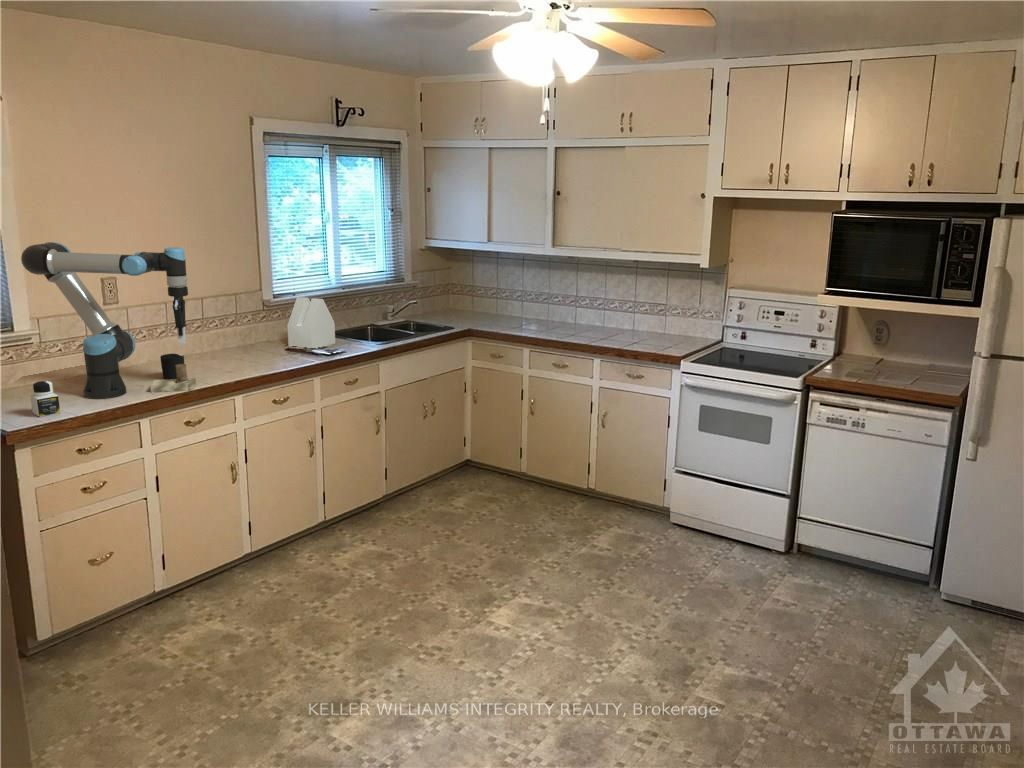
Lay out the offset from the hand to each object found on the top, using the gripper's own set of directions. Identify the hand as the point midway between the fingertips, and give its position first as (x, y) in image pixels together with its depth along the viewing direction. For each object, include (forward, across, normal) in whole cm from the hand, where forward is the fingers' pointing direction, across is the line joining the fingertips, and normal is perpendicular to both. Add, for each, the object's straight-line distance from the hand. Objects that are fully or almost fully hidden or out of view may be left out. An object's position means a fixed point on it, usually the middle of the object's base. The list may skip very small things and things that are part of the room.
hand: (182, 342), depth 323 cm
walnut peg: (+19, -4, 0) cm, 19 cm away
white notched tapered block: (+19, +80, -48) cm, 95 cm away
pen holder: (+19, +15, +8) cm, 25 cm away
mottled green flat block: (+19, -4, +4) cm, 19 cm away
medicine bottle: (+19, -35, +42) cm, 57 cm away
